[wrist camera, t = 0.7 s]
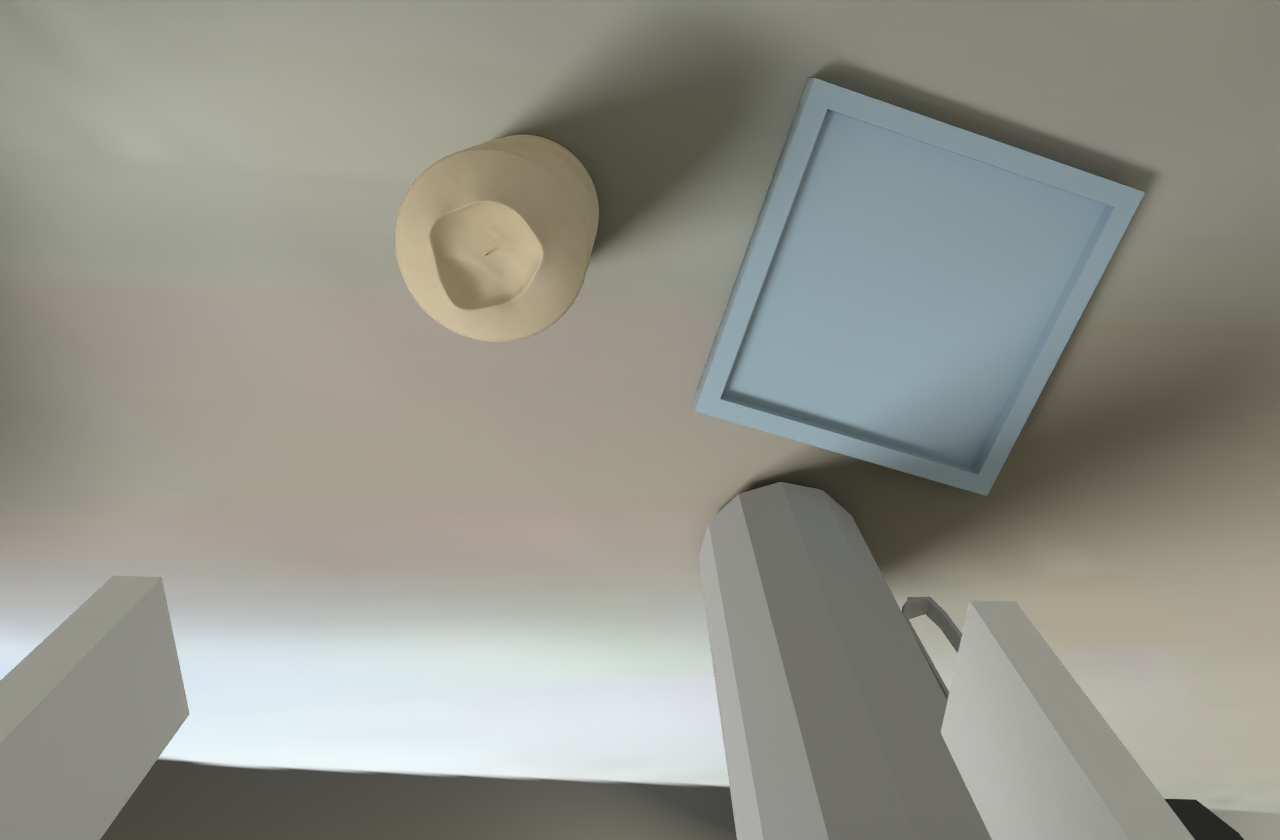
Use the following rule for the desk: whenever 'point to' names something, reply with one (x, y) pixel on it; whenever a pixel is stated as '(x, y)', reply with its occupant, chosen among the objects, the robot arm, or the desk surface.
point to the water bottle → (824, 680)
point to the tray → (908, 289)
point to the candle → (498, 237)
